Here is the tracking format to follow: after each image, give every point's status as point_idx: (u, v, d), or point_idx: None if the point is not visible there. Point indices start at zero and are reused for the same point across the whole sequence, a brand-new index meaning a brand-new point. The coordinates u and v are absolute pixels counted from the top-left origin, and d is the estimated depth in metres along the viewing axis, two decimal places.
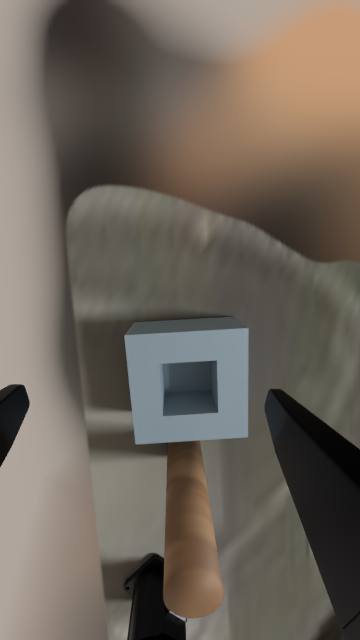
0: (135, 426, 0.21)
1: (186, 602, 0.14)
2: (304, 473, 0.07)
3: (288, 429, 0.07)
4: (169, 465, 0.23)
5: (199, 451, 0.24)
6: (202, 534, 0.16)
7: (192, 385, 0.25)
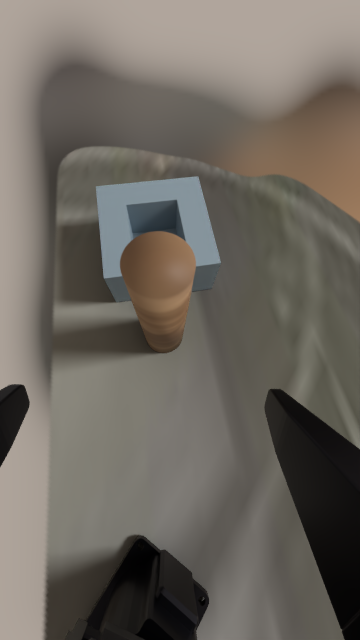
0: (104, 260, 0.20)
1: (150, 272, 0.11)
2: (304, 473, 0.07)
3: (288, 429, 0.07)
4: None
5: None
6: None
7: None
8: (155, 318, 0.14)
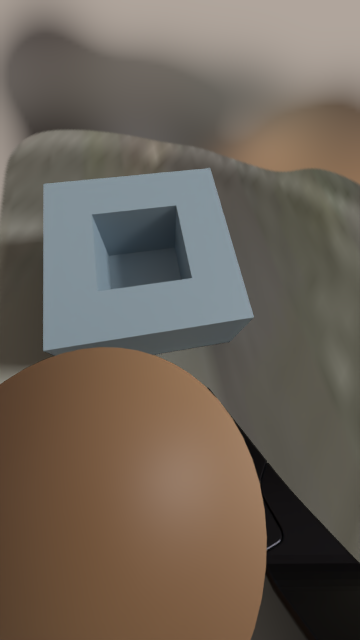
0: (46, 314, 0.11)
1: (45, 591, 0.02)
2: None
3: None
4: None
5: None
6: None
7: None
8: None
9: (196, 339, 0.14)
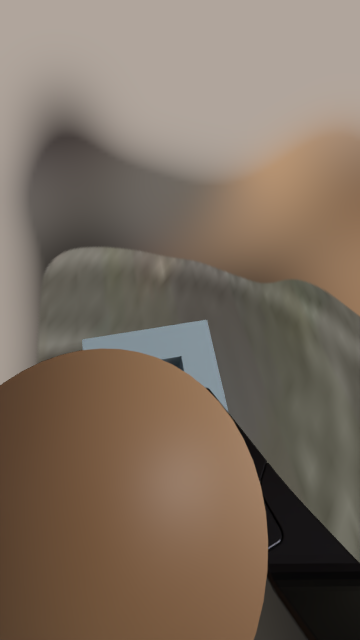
0: None
1: (45, 596, 0.02)
2: None
3: None
4: None
5: None
6: None
7: None
8: None
9: None
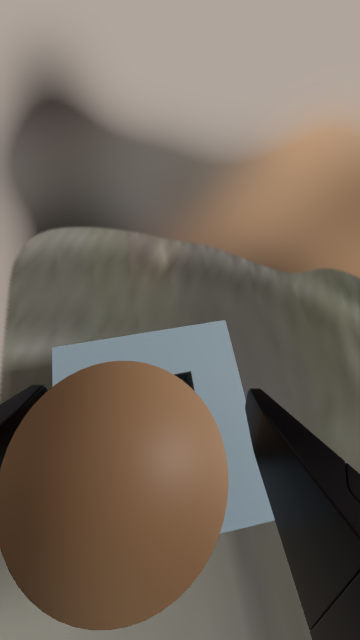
0: None
1: (89, 514, 0.04)
2: (277, 473, 0.07)
3: (264, 429, 0.07)
4: None
5: None
6: None
7: None
8: None
9: None
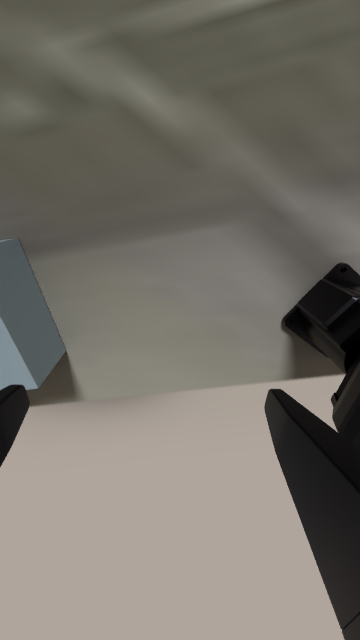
0: None
1: None
2: (304, 473, 0.07)
3: (288, 429, 0.07)
4: None
5: None
6: None
7: None
8: None
9: (14, 280, 0.17)
